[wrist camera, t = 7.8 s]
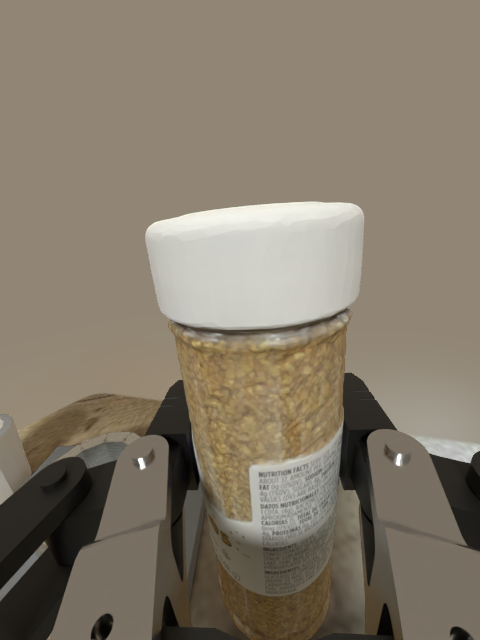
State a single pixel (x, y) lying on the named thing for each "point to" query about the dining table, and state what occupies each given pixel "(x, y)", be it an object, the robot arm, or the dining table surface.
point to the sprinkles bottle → (265, 392)
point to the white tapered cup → (11, 459)
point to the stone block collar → (98, 454)
